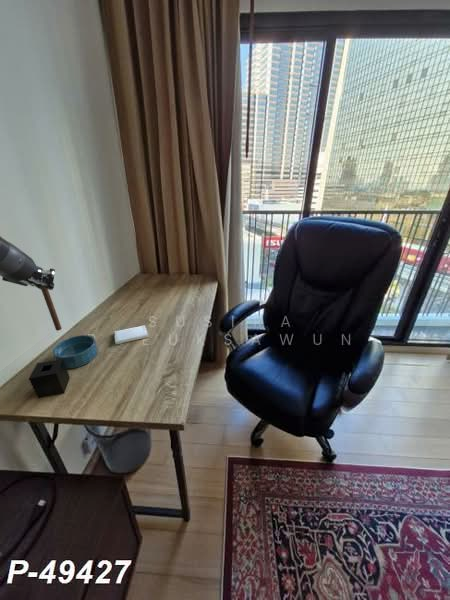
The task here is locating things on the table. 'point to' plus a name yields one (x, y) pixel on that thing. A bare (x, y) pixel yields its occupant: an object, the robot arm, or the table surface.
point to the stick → (51, 307)
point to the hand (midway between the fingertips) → (48, 287)
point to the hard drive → (130, 334)
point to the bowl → (76, 350)
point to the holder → (49, 378)
